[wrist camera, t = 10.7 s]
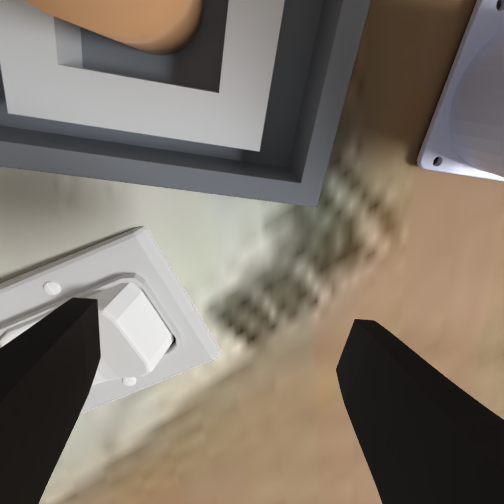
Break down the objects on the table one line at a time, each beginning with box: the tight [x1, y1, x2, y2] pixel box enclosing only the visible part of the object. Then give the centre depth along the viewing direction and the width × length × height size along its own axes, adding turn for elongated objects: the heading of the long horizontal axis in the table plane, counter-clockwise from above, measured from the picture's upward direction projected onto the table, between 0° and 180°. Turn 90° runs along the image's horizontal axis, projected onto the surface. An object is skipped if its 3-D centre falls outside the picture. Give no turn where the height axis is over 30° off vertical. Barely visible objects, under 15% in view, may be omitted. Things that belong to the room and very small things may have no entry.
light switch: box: [0, 226, 221, 414], centre depth 21 cm, size 11×4×13 cm
